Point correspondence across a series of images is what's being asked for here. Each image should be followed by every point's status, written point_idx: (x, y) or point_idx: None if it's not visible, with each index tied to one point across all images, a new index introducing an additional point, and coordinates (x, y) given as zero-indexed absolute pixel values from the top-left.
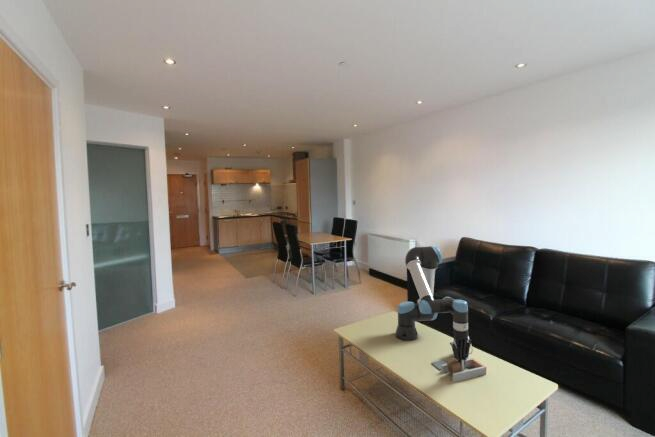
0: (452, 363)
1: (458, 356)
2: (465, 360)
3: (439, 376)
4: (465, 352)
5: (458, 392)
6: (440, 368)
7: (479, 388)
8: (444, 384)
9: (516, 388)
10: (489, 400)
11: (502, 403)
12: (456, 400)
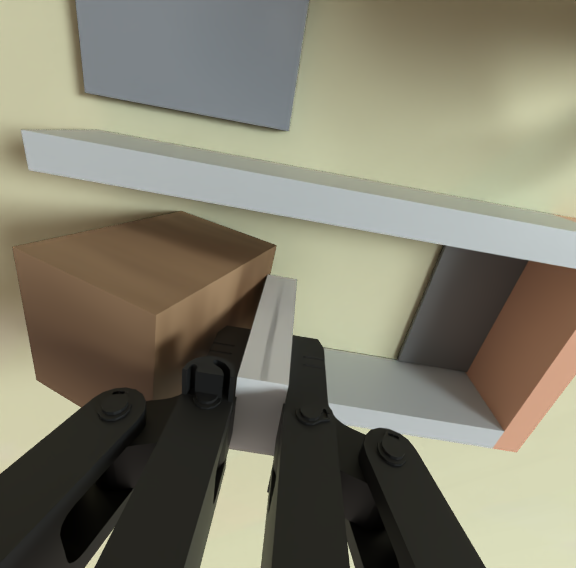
0: (71, 352)
1: (92, 547)
2: (497, 244)
3: (23, 194)
4: (434, 543)
5: (68, 415)
6: (108, 74)
7: (243, 452)
8: (9, 311)
9: None
10: None
11: (243, 547)
12: (7, 448)
